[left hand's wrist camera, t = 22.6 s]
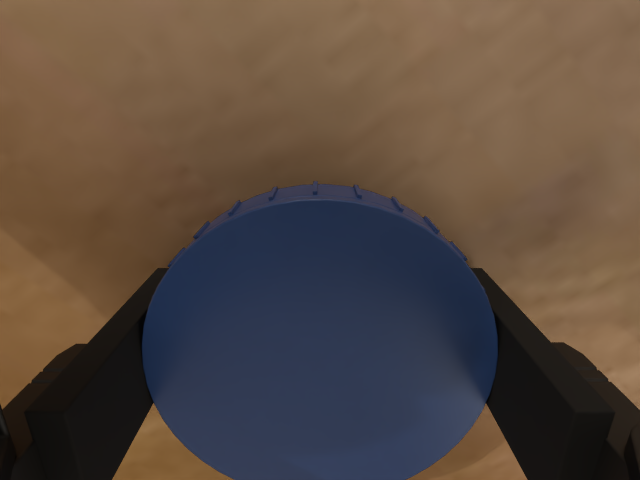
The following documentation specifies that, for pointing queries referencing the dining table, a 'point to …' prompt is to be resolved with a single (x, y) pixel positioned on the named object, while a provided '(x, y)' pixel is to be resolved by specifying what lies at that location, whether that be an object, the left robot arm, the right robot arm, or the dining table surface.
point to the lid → (319, 339)
